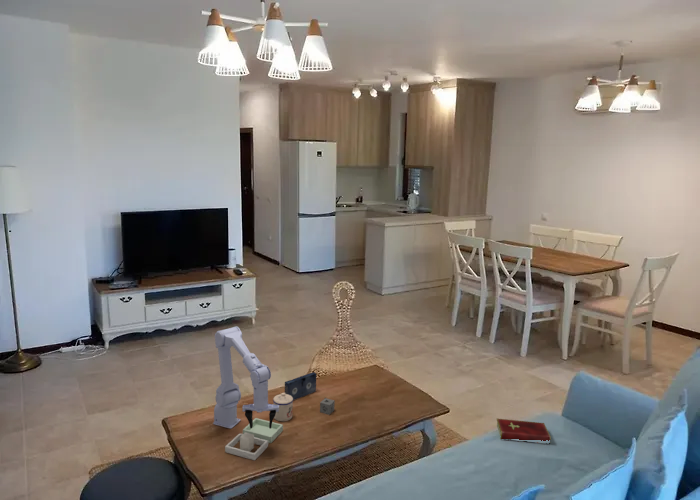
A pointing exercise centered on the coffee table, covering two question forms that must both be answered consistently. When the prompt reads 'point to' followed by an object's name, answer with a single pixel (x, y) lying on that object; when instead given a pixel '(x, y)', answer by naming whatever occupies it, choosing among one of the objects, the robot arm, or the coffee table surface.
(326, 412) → the dice cube
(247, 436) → the cream block
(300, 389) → the vhs cassette tape
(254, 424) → the green bin
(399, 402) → the coffee table surface
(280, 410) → the teacup with lid
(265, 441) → the bin
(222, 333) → the robot arm
